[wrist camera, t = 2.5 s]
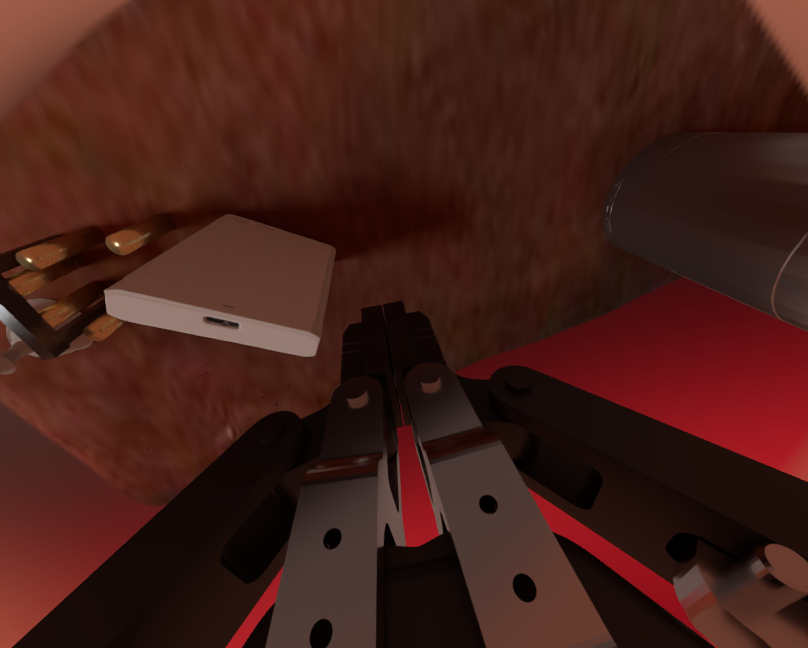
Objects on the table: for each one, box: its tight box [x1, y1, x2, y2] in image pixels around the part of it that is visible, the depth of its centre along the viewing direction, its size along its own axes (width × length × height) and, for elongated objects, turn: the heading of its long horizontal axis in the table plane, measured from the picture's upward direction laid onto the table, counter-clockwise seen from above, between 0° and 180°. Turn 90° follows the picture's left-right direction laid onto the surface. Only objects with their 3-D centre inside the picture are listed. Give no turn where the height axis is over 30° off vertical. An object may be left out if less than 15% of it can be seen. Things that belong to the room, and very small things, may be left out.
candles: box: [0, 214, 174, 360], centre depth 20 cm, size 9×6×6 cm
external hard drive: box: [104, 214, 336, 357], centre depth 18 cm, size 2×8×12 cm, turn 69°
